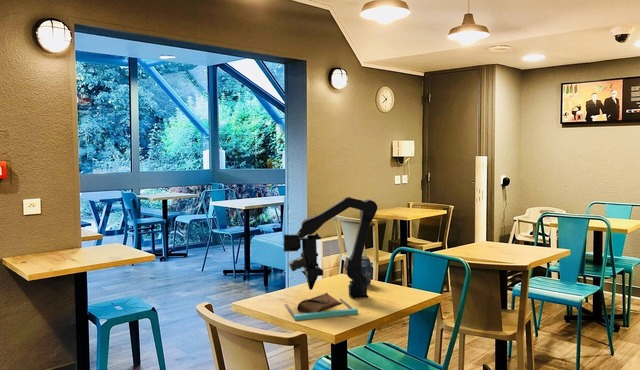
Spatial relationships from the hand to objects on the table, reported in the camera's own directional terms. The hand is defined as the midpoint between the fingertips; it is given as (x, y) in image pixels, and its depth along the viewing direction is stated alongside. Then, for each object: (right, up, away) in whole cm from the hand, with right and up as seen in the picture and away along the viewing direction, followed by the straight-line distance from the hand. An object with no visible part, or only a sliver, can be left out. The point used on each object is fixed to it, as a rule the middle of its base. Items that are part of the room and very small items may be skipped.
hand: (310, 289), depth 213 cm
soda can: (+23, -2, +21) cm, 31 cm away
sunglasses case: (+4, -5, -12) cm, 13 cm away
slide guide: (+4, -5, -14) cm, 15 cm away
